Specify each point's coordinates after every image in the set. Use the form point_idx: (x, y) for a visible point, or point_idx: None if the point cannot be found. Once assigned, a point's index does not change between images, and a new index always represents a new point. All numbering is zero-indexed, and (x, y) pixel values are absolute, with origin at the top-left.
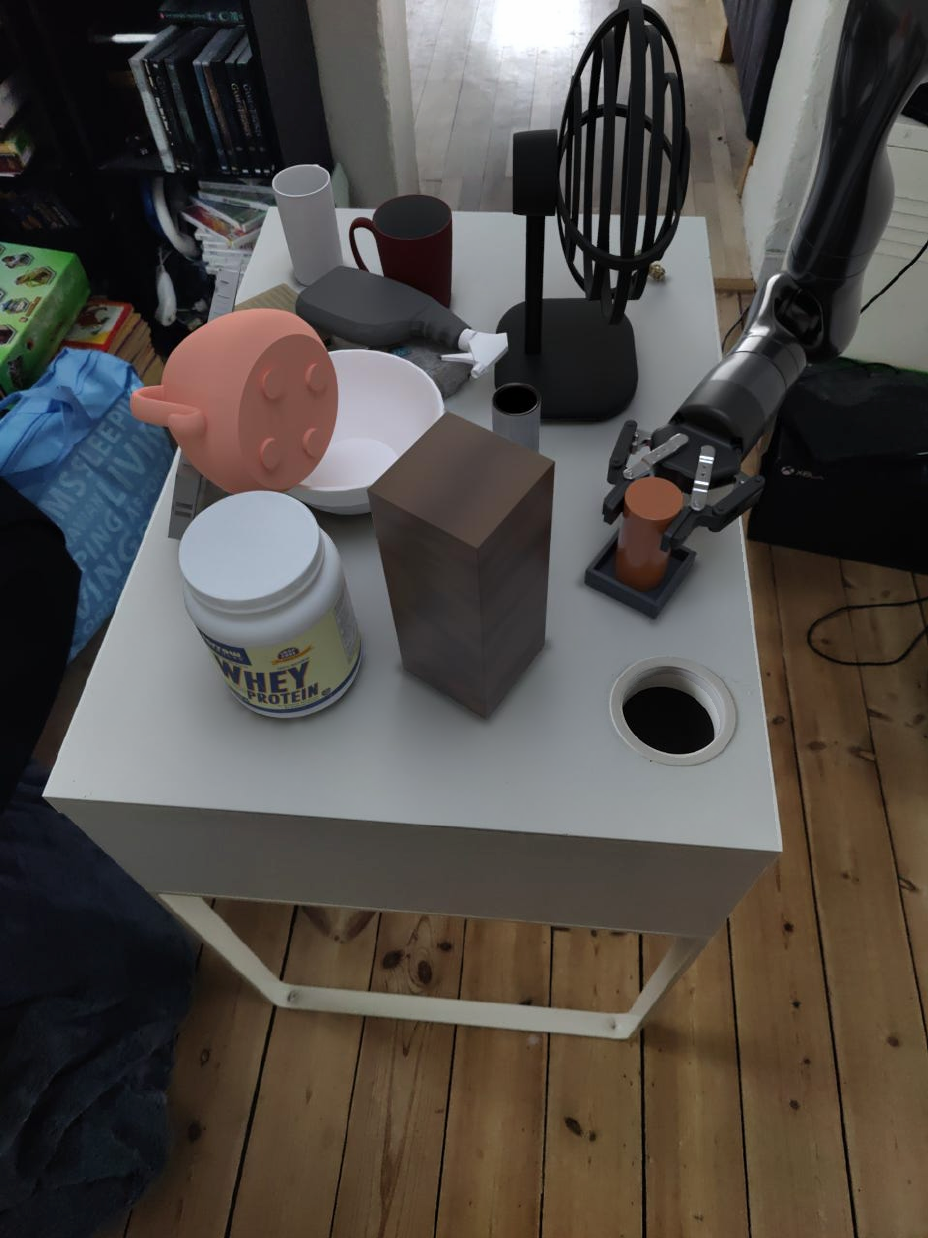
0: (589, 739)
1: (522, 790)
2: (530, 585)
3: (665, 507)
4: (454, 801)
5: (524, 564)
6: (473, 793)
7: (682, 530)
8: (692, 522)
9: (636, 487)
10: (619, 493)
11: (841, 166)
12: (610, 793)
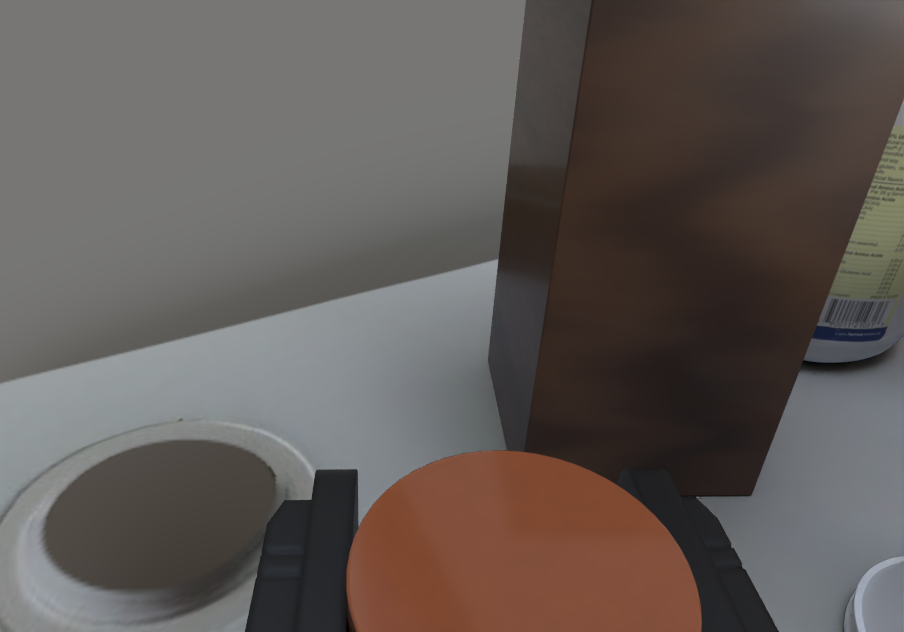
0: (310, 402)
1: (365, 321)
2: (545, 151)
3: (426, 542)
4: (437, 288)
5: (556, 25)
6: (423, 299)
7: (287, 557)
8: (253, 619)
9: (652, 577)
10: (688, 541)
11: None
12: (233, 361)
